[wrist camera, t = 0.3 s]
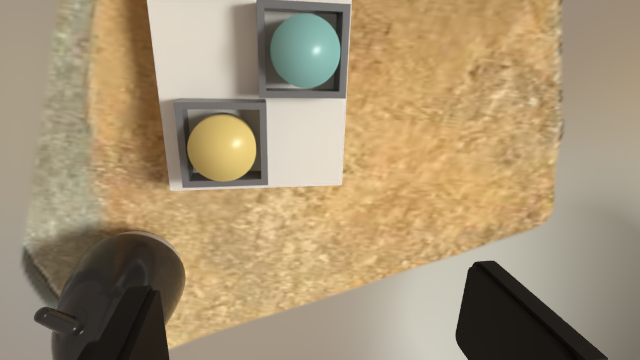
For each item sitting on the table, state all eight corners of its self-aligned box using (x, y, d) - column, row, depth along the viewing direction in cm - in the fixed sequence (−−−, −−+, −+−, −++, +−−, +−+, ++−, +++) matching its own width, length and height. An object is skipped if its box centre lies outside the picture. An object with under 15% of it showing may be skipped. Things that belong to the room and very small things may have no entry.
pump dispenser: (156, 199, 37) (97, 289, 23) (208, 271, 41) (185, 385, 27) (69, 242, 37) (-43, 358, 23) (130, 310, 41) (65, 445, 27)
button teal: (269, 14, 29) (270, 11, 27) (335, 17, 30) (342, 15, 28) (270, 84, 31) (271, 87, 29) (332, 85, 32) (338, 88, 30)
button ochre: (189, 112, 31) (184, 117, 28) (254, 112, 32) (254, 117, 29) (195, 173, 33) (190, 182, 30) (256, 171, 34) (257, 180, 31)
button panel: (141, -128, 28) (116, -167, 23) (348, -105, 31) (367, -135, 26) (176, 180, 37) (164, 201, 32) (335, 175, 40) (347, 193, 35)
